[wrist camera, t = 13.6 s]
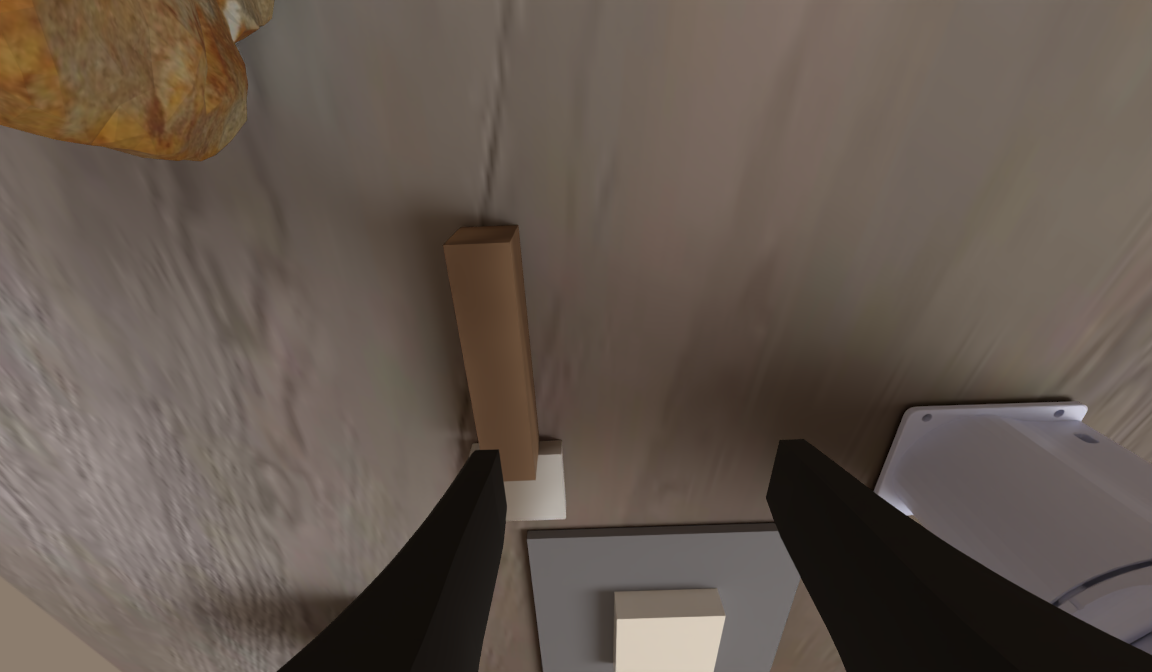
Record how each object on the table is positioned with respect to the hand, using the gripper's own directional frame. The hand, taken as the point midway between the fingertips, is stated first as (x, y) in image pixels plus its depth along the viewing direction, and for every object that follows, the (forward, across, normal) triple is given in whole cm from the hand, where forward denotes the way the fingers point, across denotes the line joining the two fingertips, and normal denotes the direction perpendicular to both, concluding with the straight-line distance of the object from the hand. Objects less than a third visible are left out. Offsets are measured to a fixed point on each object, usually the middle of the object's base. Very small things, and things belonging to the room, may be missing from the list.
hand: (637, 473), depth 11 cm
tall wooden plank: (+10, +5, +4) cm, 12 cm away
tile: (+9, -4, +20) cm, 23 cm away
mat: (+10, -4, +24) cm, 26 cm away
